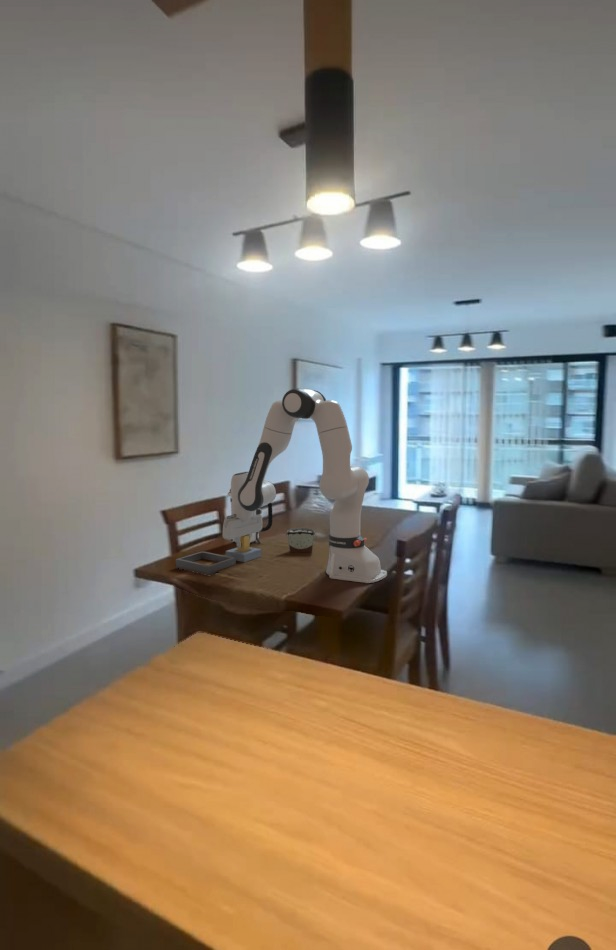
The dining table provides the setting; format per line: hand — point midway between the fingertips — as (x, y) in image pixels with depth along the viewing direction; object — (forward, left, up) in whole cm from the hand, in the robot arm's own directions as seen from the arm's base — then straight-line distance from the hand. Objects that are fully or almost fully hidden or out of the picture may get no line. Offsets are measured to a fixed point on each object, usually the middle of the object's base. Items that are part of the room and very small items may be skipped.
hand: (243, 546), depth 220 cm
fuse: (0, 0, -5) cm, 5 cm away
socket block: (0, 0, -6) cm, 6 cm away
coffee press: (+17, -22, -6) cm, 28 cm away
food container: (-13, -22, -6) cm, 26 cm away
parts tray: (+5, +16, -6) cm, 18 cm away
